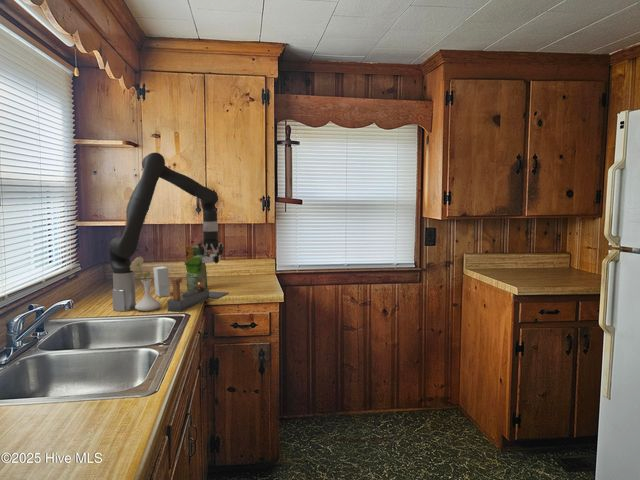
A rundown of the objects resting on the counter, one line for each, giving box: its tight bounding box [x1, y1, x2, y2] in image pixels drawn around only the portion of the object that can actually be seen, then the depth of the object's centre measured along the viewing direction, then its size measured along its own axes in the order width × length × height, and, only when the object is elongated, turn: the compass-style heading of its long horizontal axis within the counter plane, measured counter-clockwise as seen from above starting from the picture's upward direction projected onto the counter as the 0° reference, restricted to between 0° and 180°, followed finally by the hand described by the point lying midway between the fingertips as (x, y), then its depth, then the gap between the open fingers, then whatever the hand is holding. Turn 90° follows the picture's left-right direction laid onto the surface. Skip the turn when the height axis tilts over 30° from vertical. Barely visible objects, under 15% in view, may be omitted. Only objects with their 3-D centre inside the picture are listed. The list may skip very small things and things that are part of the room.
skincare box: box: [152, 265, 171, 298], centre depth 248 cm, size 8×6×15 cm
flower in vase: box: [130, 256, 162, 312], centre depth 217 cm, size 13×11×25 cm
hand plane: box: [167, 277, 210, 313], centre depth 227 cm, size 26×6×14 cm, turn 164°
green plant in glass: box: [184, 244, 208, 291], centre depth 261 cm, size 11×12×25 cm
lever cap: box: [202, 253, 221, 264], centre depth 245 cm, size 10×5×4 cm, turn 164°
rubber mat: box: [209, 290, 229, 300], centre depth 247 cm, size 12×12×1 cm
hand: (211, 262), depth 245 cm, fingers closed on lever cap, 5 cm apart
